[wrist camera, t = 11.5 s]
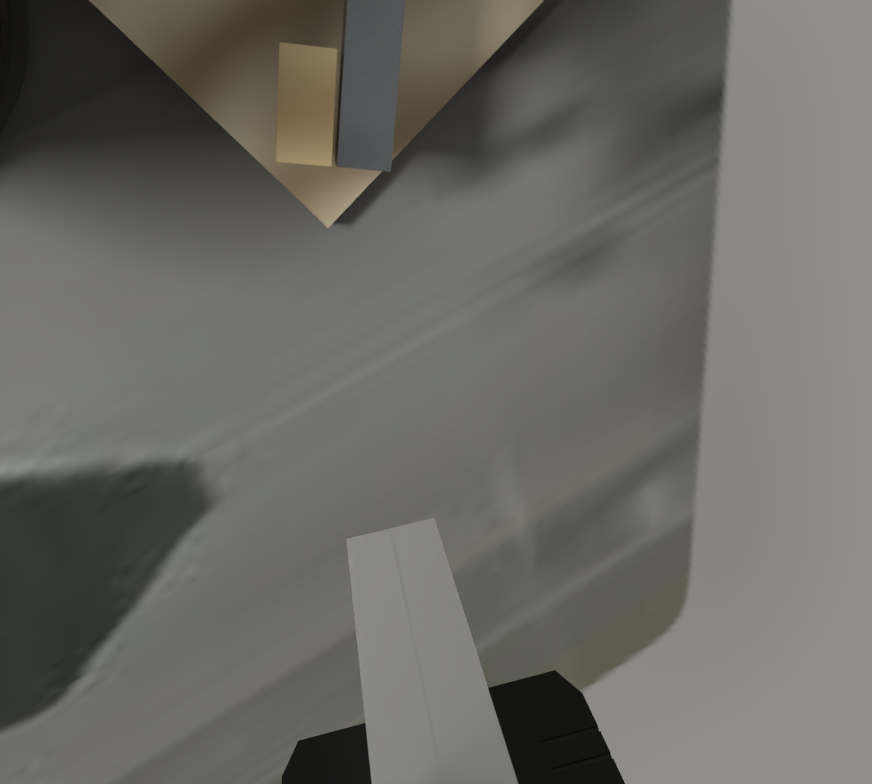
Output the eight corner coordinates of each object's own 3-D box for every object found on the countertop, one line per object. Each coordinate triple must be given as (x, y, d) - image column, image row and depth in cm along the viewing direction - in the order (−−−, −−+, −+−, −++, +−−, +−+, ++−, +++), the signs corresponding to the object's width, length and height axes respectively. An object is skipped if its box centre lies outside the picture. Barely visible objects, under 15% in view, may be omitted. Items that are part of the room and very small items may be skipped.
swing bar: (330, -160, 27) (334, -184, 25) (432, -143, 28) (443, -164, 26) (313, 159, 31) (315, 164, 29) (403, 168, 32) (412, 174, 29)
